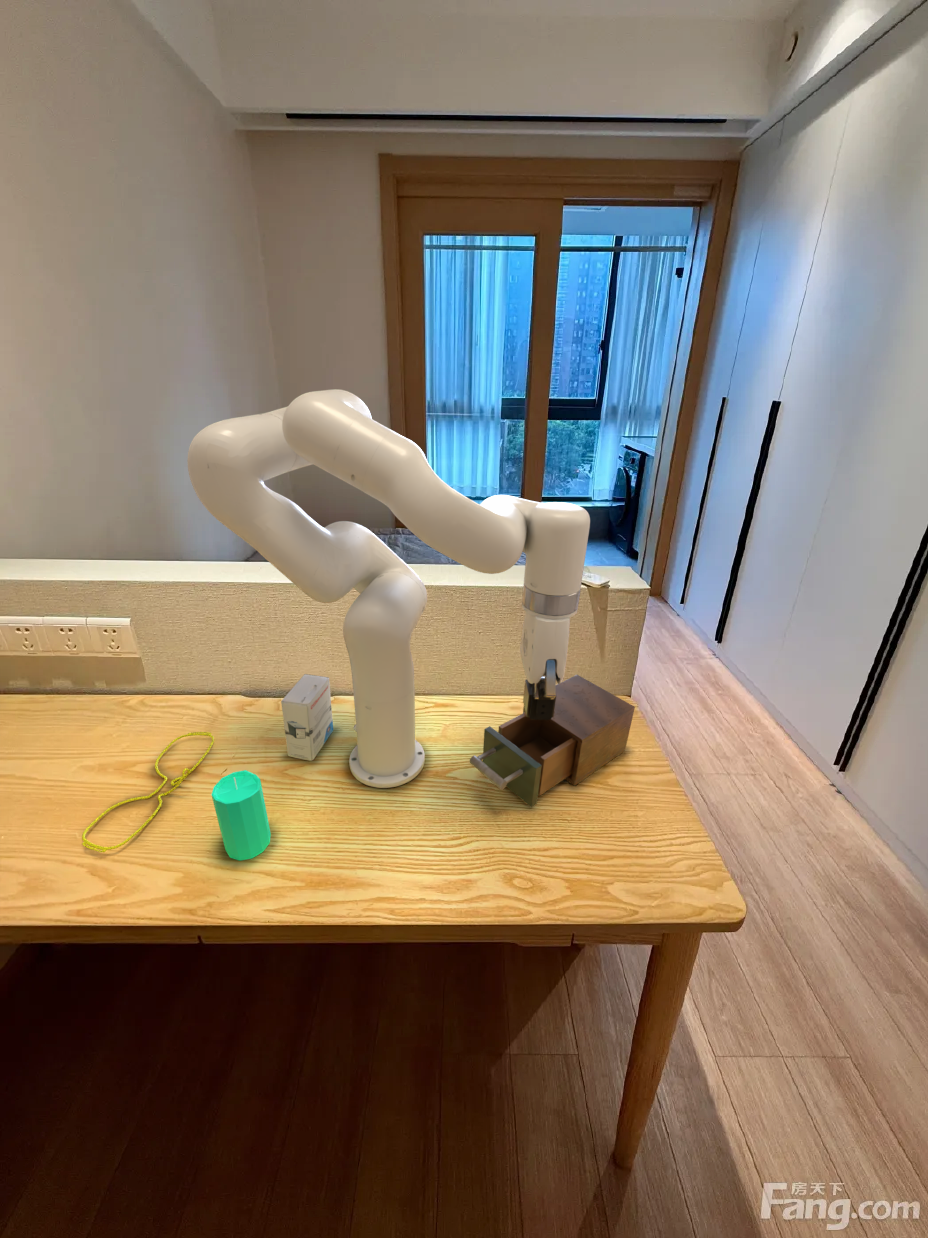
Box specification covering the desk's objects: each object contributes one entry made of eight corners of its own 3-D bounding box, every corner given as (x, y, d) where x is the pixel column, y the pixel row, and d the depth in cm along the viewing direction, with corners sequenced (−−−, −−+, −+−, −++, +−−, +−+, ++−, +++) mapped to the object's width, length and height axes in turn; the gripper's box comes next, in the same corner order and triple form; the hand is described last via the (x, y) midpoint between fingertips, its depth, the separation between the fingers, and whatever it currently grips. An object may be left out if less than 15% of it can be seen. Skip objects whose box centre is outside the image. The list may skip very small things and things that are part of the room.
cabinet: (574, 786, 84) (582, 739, 79) (519, 745, 92) (524, 701, 88) (625, 750, 92) (635, 706, 88) (570, 715, 100) (577, 674, 96)
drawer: (508, 823, 75) (512, 784, 72) (459, 779, 83) (460, 741, 80) (585, 770, 86) (592, 733, 82) (535, 735, 94) (539, 700, 90)
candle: (244, 868, 69) (228, 802, 63) (216, 847, 71) (198, 782, 66) (280, 837, 73) (268, 773, 68) (252, 818, 76) (239, 755, 70)
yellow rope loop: (183, 734, 92) (177, 712, 90) (235, 740, 91) (230, 719, 89) (68, 852, 70) (57, 827, 68) (135, 862, 69) (126, 837, 67)
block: (526, 717, 75) (528, 694, 74) (522, 701, 79) (525, 679, 77) (553, 717, 76) (556, 695, 74) (548, 701, 79) (551, 679, 77)
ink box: (310, 726, 95) (303, 672, 90) (336, 730, 94) (330, 676, 89) (287, 757, 88) (278, 700, 82) (314, 762, 87) (307, 705, 82)
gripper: (515, 573, 76) (506, 677, 85) (532, 625, 61) (519, 746, 70) (565, 574, 77) (552, 678, 85) (594, 626, 62) (574, 746, 70)
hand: (537, 707), depth 77 cm, fingers closed on block, 4 cm apart
